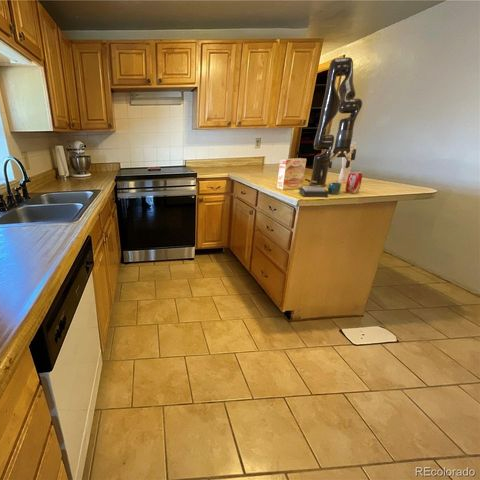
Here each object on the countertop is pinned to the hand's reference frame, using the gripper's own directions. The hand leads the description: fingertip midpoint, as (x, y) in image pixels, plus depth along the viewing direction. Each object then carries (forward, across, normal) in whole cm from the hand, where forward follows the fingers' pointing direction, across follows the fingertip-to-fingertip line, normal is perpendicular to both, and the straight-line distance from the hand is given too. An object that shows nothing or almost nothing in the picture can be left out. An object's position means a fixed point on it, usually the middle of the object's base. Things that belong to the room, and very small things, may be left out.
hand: (338, 168), depth 155 cm
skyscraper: (+15, -18, -42) cm, 48 cm away
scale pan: (+12, +12, +4) cm, 18 cm away
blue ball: (+15, 0, 0) cm, 15 cm away
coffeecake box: (+15, +22, -16) cm, 31 cm away
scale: (+15, +12, +4) cm, 20 cm away
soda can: (+15, -11, -4) cm, 19 cm away
